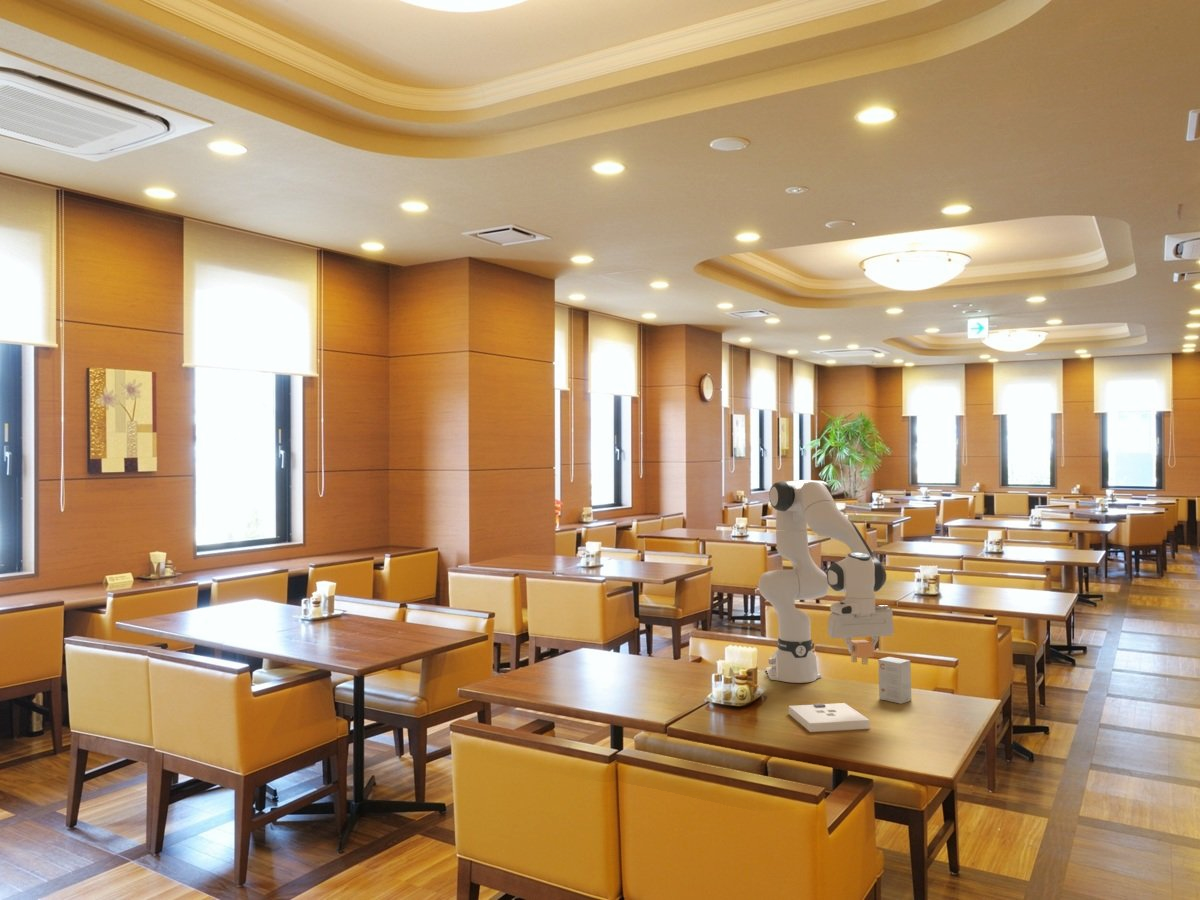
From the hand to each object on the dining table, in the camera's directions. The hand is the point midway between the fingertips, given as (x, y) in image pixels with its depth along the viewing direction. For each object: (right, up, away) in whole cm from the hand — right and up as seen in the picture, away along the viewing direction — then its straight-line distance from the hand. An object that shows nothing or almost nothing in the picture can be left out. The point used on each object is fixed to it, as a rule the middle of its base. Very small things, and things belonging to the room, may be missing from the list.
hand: (861, 651), depth 265 cm
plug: (0, -3, 0) cm, 3 cm away
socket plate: (-12, -19, -6) cm, 24 cm away
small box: (+16, -20, +15) cm, 29 cm away
